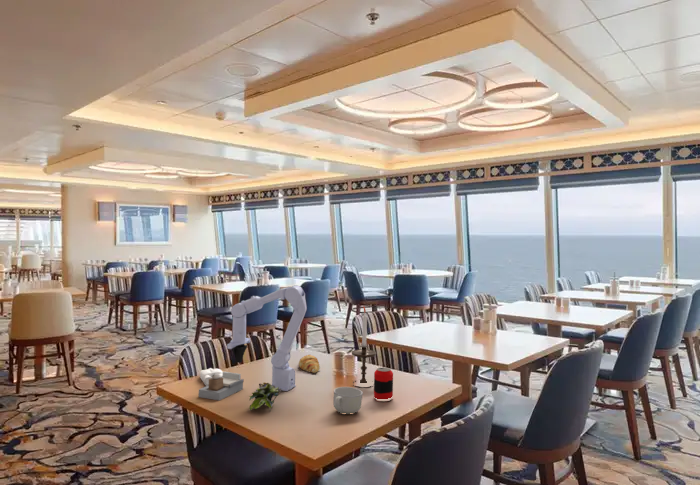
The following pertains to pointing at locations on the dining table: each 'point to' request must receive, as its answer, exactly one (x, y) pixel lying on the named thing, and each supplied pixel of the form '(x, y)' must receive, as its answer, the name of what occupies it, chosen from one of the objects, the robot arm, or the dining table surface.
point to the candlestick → (364, 349)
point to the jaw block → (215, 383)
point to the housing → (221, 391)
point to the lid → (230, 378)
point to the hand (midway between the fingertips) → (238, 362)
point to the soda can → (383, 383)
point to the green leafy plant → (264, 395)
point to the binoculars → (209, 374)
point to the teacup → (347, 399)
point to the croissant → (309, 364)
